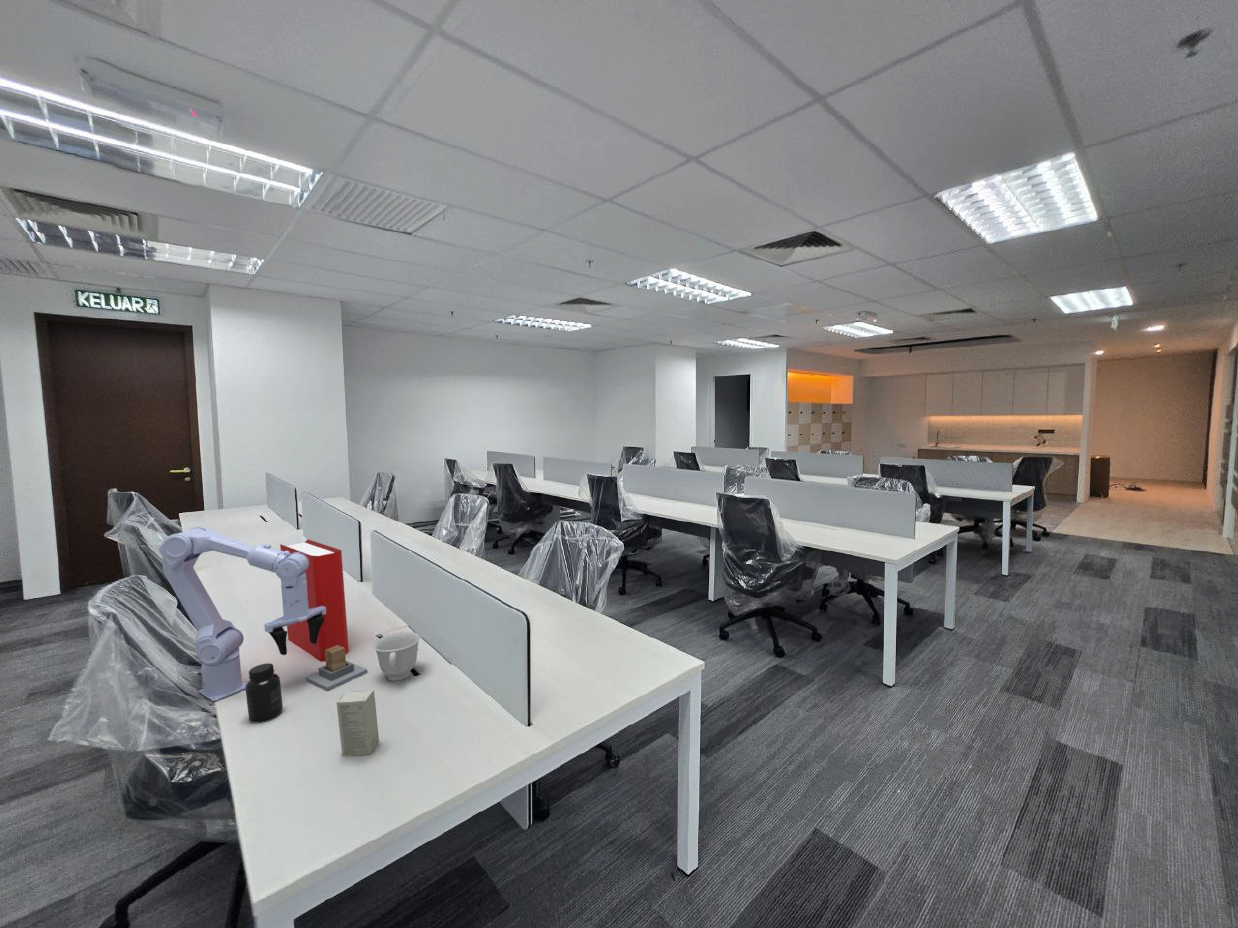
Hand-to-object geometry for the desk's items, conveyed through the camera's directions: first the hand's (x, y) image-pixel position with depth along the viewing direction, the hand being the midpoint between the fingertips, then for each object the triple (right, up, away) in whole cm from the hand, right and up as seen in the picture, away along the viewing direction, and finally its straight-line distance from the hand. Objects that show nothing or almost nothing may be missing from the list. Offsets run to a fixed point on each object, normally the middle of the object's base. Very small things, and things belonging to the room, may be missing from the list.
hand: (298, 648), depth 135 cm
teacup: (+26, -9, +2) cm, 28 cm away
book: (-9, -8, +24) cm, 27 cm away
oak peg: (+8, -8, +4) cm, 12 cm away
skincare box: (+31, -12, -28) cm, 43 cm away
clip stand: (+8, -9, +4) cm, 13 cm away
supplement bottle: (+1, -11, -14) cm, 18 cm away
